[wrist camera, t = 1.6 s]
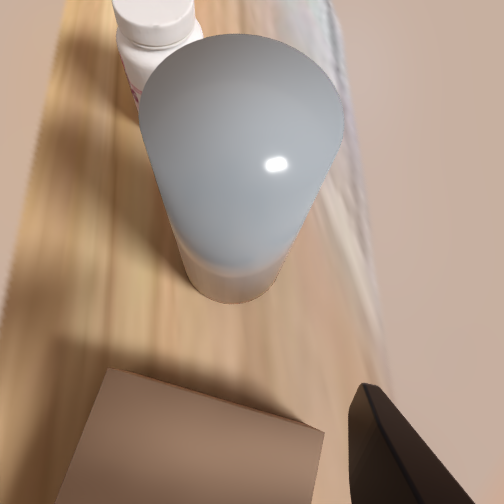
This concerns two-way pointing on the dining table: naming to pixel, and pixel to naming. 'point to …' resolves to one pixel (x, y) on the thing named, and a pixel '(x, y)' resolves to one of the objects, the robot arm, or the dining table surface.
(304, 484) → the walnut box
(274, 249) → the grey cylinder
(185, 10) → the pill bottle
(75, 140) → the dining table surface
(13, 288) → the dining table surface
